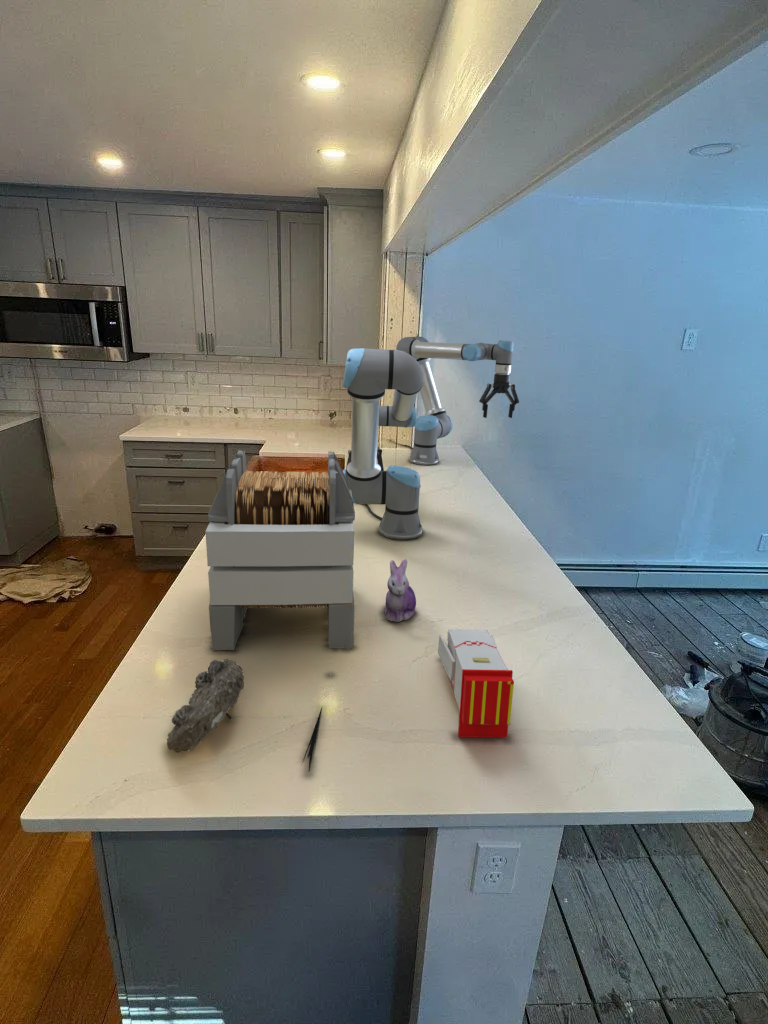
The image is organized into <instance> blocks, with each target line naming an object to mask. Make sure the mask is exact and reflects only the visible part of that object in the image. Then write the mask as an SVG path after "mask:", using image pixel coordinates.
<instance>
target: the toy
mask: <svg viewBox="0 0 768 1024" xmlns="http://www.w3.org/2000/svg"><path fill="white" fill-rule="evenodd" d="M446 640H447V643H446V641H445V639H444V636H443V635H442V634H439V637H438V646H437V656H438V657H439V659H440V661H441V663H442V666H443V668H444V670H445V672H446V674H447V677H448V679H449V681H450V684H451V687H452V690H453V693H454V697H455V701H456V705H457V708H458V711H459V714H458V715H459V716H458V730H457V731H458V732H457V737H458V738H508V731H509V726H510V725H511V717H512V707H513V697H514V696H513V695H514V684H515V680H514V679H513V673H514V671H513V670H512V669H508V667H507V665H506V662H505V661H504V659H503V658H502V655H501V653H500V651H499V649H498V647H497V643H496V639H495V637H494V635H493V634H491V632H490V631H489V629H467V628H466V629H465V628H463V629H461V628H460V629H459V628H448V630H447V639H446Z"/></svg>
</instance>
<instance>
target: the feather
mask: <svg viewBox="0 0 768 1024" xmlns="http://www.w3.org/2000/svg"><path fill="white" fill-rule="evenodd" d="M329 675H330V676H331V675H332V674H331V673H330V674H329ZM322 710H323V707H321V708H320V710H319V713H318V716H317V719H316V723H315V725H314V728H313V731H312V733H311V737H310V739H309V742H308V745H307V748H306V751H305V754H304V757H303V760H302V763H301V767H302V765H303V763H304V761H305V758H308V759H309V760H308V762H307V763H308V764H307V766H308V771H310V770H311V766H312V765H311V764H312V760H313V757H315V756H314V755H315V751H316V749H315V746H317V739H318V733H319V729H320V722H321V717H322V712H323V711H322ZM313 754H314V755H313ZM306 755H307V757H306Z"/></svg>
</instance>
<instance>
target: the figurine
mask: <svg viewBox="0 0 768 1024" xmlns="http://www.w3.org/2000/svg"><path fill="white" fill-rule="evenodd" d="M407 567H408V559H406V558H404V559H403V560H402V561H401V563H400V565H399V566H398V565H397V563H396V562H395V561H394V560H393V559H391V560H390V561H389V570H390V576H389V578H388V579H387V589H388V591H387V592H386V594H385V595H386V596H385V607H384V615H385V616H386V620H387V621H391V622H395V623H400V622H402V621H406V620H409V619H410V618H411V617H413V616H414V615H415V610H416V606H417V597H416V593H415V591H414V590H413V587H411V586H410V582H409V579H408V577H407V574H406V571H407Z"/></svg>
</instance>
